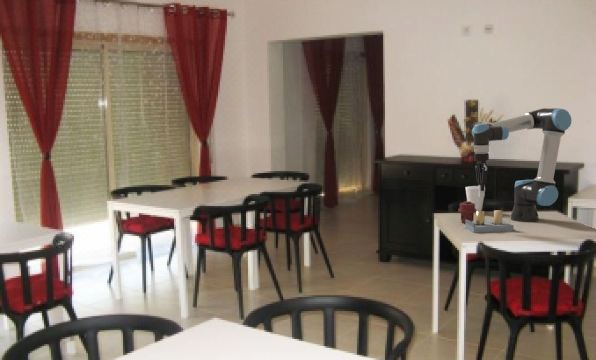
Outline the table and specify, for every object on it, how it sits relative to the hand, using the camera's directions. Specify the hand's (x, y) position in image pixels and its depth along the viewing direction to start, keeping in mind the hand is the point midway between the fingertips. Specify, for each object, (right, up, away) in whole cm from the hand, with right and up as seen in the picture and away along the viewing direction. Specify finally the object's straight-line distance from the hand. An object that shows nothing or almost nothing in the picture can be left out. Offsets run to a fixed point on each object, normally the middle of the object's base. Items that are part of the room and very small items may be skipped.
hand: (481, 196), depth 336 cm
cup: (+11, -12, +51) cm, 54 cm away
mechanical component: (-2, -16, +21) cm, 26 cm away
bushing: (0, -18, +2) cm, 18 cm away
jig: (+5, -18, +3) cm, 19 cm away
